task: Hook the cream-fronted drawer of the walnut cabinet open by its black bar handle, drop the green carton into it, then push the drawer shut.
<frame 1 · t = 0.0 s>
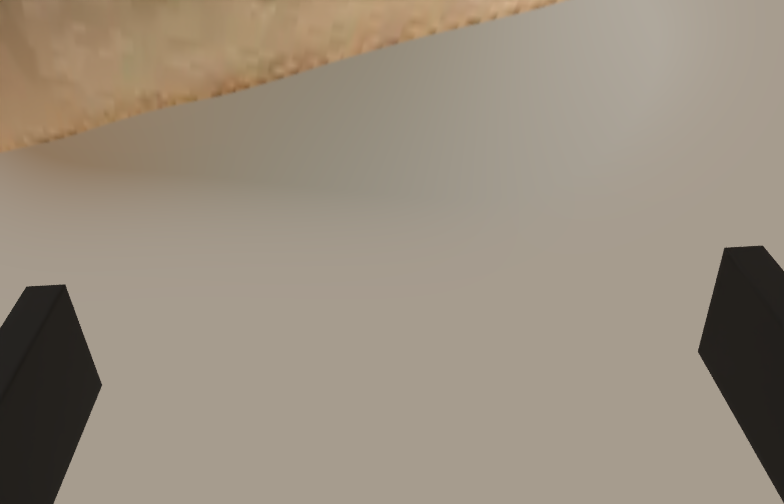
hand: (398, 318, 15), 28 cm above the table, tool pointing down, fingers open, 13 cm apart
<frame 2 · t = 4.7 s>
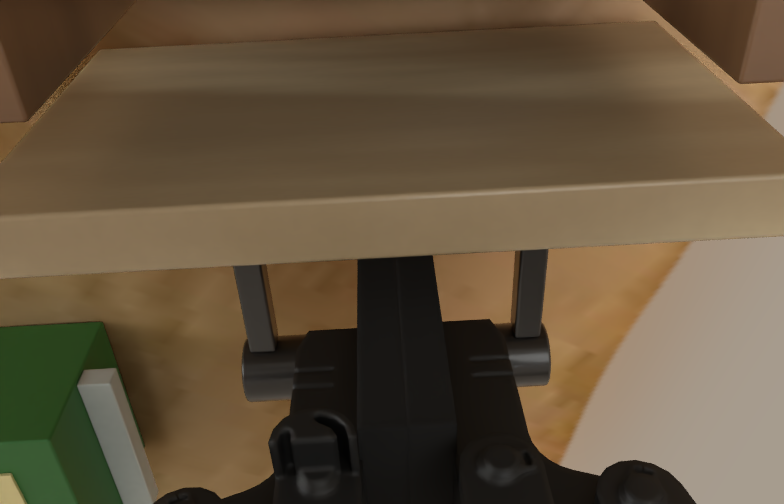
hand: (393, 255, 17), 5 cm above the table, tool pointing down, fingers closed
green carton: (27, 392, 25), on the table
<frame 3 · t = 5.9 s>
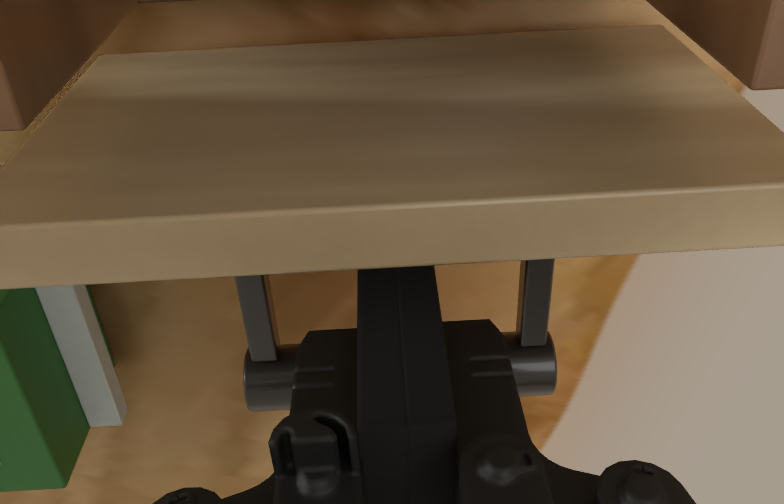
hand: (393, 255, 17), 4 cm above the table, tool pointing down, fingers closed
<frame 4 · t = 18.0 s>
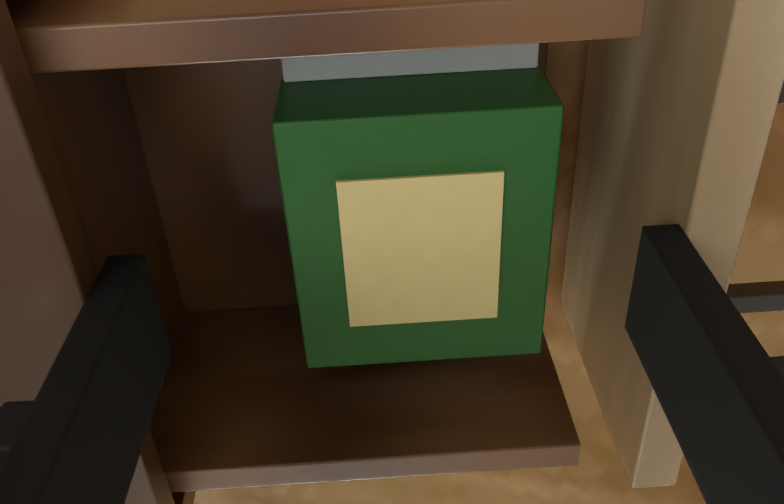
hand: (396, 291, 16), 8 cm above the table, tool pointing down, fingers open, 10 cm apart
drawer: (493, 198, 19), point 5 cm above the table, slide at 11.8 cm, touching green carton
green carton: (407, 154, 21), point 2 cm above the table, touching drawer
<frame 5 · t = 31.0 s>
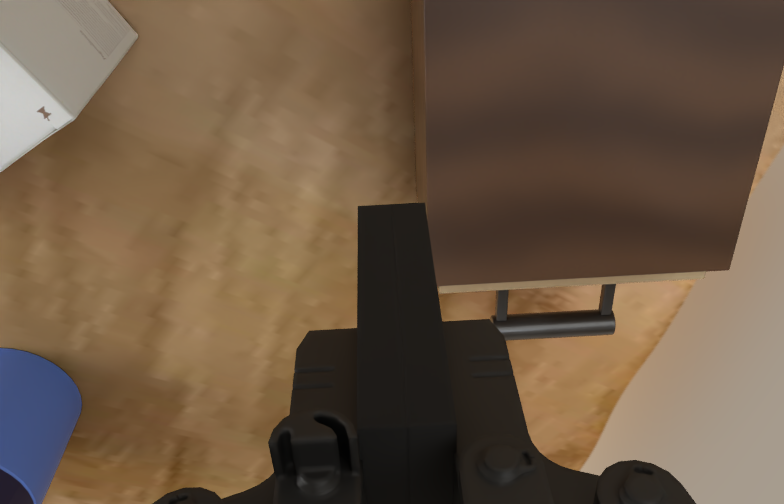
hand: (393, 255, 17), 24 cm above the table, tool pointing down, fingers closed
cabinet: (549, 54, 39), on the table
drawer: (562, 173, 38), point 5 cm above the table, slide at 0.0 cm, touching green carton
water bottle: (17, 393, 52), on the table
small box: (49, 33, 38), on the table
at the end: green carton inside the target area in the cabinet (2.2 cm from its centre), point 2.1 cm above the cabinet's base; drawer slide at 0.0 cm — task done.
